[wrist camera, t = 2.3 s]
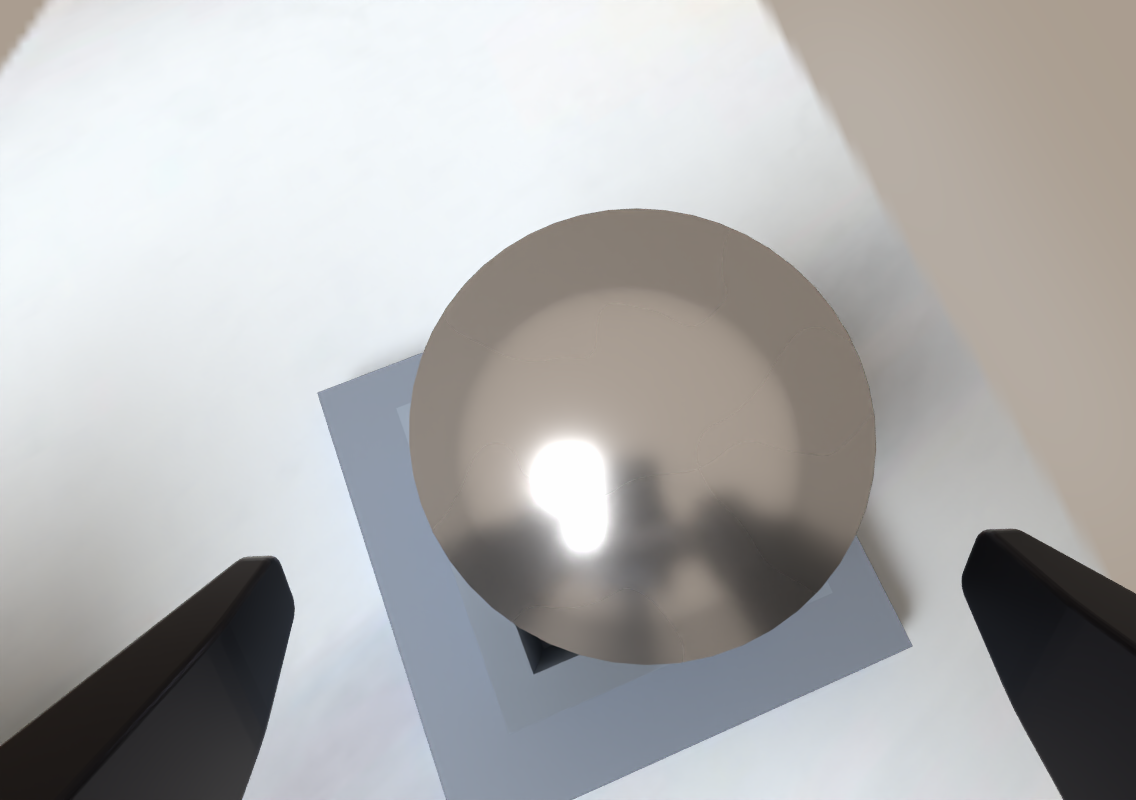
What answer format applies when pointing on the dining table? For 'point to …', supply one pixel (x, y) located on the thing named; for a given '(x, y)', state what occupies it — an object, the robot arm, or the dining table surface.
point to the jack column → (642, 436)
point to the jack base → (549, 673)
